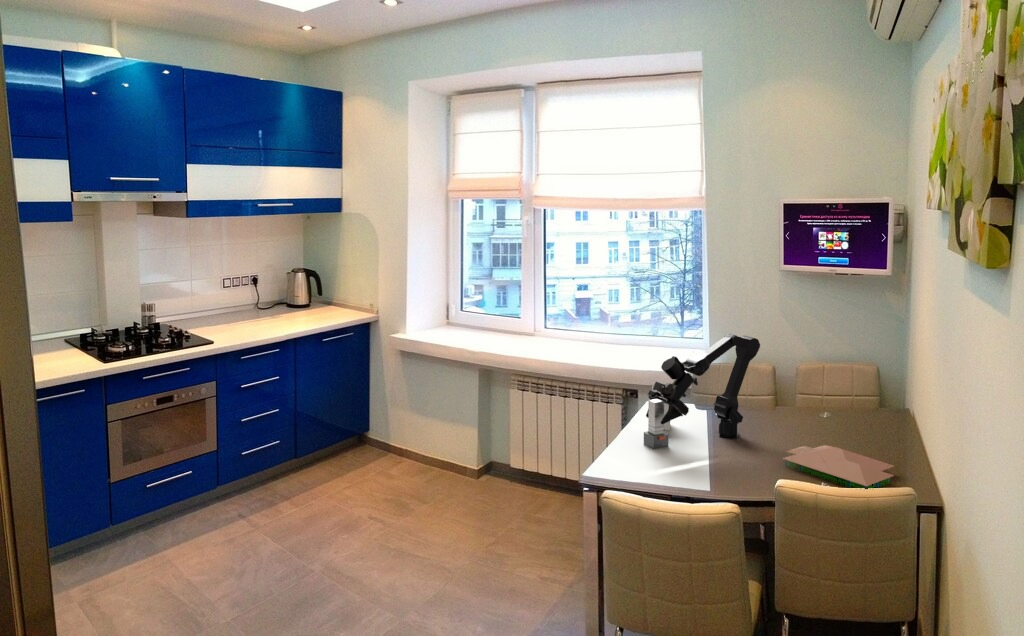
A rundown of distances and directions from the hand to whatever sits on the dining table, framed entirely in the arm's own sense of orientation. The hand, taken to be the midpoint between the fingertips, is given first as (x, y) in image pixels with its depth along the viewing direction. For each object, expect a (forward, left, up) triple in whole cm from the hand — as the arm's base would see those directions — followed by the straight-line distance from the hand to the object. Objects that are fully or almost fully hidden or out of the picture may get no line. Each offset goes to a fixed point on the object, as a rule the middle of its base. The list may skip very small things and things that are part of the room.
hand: (654, 420), depth 267 cm
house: (-62, -1, -12) cm, 63 cm away
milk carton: (+3, -24, -11) cm, 26 cm away
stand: (-1, -1, -11) cm, 11 cm away
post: (-1, -1, -6) cm, 6 cm away
